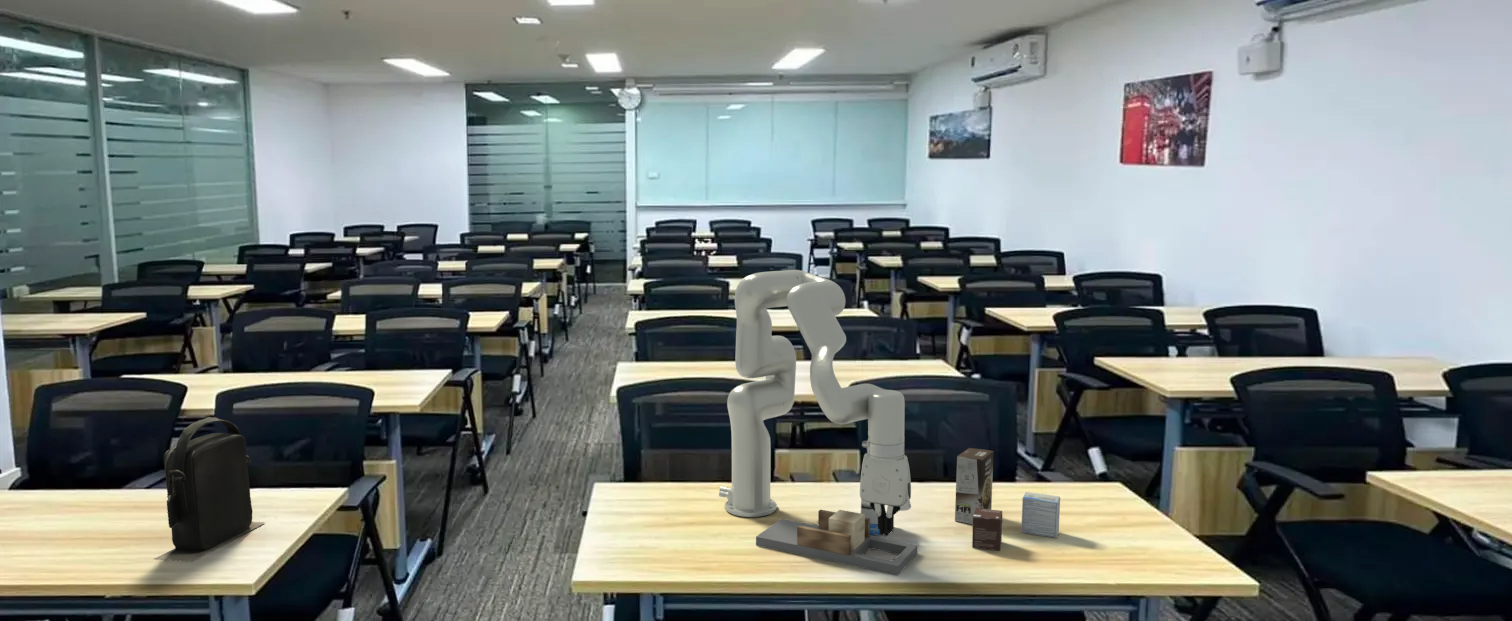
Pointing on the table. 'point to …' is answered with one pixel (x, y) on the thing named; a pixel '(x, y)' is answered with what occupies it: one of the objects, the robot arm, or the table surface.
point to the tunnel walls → (827, 535)
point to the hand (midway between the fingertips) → (885, 533)
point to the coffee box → (973, 483)
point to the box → (987, 529)
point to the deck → (786, 540)
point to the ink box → (871, 518)
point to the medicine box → (1040, 514)
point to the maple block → (849, 526)
